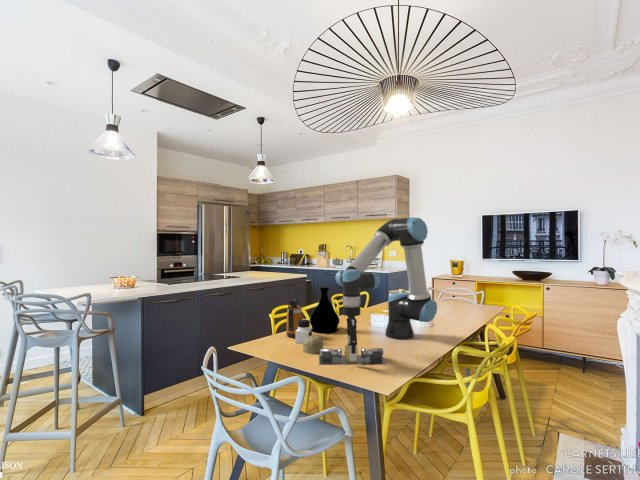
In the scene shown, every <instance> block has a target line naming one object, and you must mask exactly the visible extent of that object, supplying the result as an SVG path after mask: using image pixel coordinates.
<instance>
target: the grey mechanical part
mask: <svg viewBox="0 0 640 480" xmlns="http://www.w3.org/2000/svg"><path fill="white" fill-rule="evenodd" d="M360 355H361V356H362V358H363V359H364V358H365V357H368V356H370V359H371V360H372V361H382V357H383V356H384V349H383V348H379V347H378V348H367V349H366V348H365V347H361V348H360Z"/></svg>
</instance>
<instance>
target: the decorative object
mask: <svg viewBox="0 0 640 480" xmlns="http://www.w3.org/2000/svg"><path fill="white" fill-rule="evenodd" d="M323 343H324V341H323V340H322V339H321V337H320V336H319V335H314V334H312V336H310V337H308V338H306V340H305V341H304V343H303V344H302V352H304V353H306V354H309V355H310V354H320V349H324V344H323Z"/></svg>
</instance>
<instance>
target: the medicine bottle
mask: <svg viewBox="0 0 640 480" xmlns="http://www.w3.org/2000/svg"><path fill="white" fill-rule="evenodd" d="M310 325H311V324H310V319H307V318H303V319H301V320H299V321H298V329H297V330H296V331H295V337H294V338H295V344H299V345H301V344H302V345H303V343H304V341H305V340H306V338H308V337H310V336H313V332H312V327H311V326H310Z"/></svg>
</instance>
